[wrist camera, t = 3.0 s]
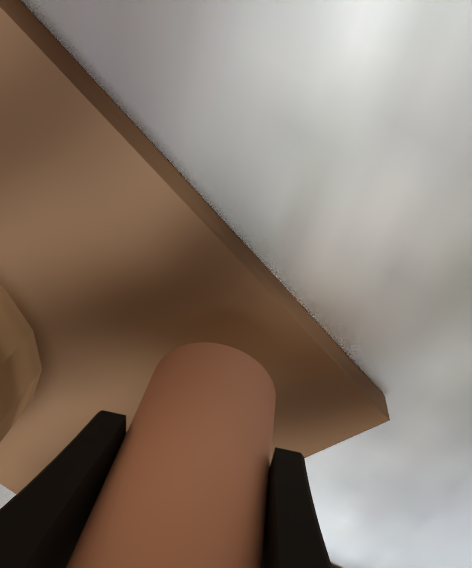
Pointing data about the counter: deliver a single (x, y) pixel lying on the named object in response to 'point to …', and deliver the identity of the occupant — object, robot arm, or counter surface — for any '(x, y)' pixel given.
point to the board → (134, 270)
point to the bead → (16, 363)
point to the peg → (188, 469)
